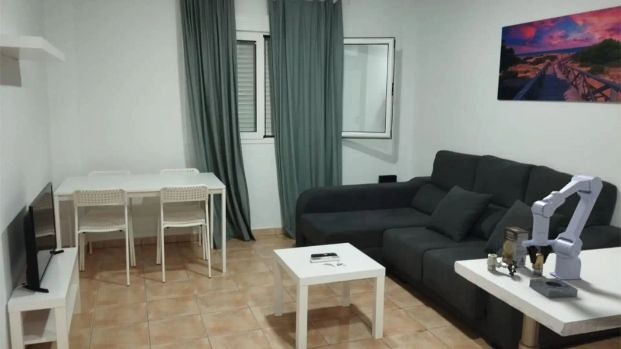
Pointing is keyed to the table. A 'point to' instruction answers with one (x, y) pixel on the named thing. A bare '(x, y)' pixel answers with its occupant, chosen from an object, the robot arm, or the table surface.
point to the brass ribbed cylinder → (538, 262)
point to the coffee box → (514, 246)
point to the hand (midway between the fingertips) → (537, 263)
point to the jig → (553, 288)
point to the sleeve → (538, 272)
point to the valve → (500, 264)
